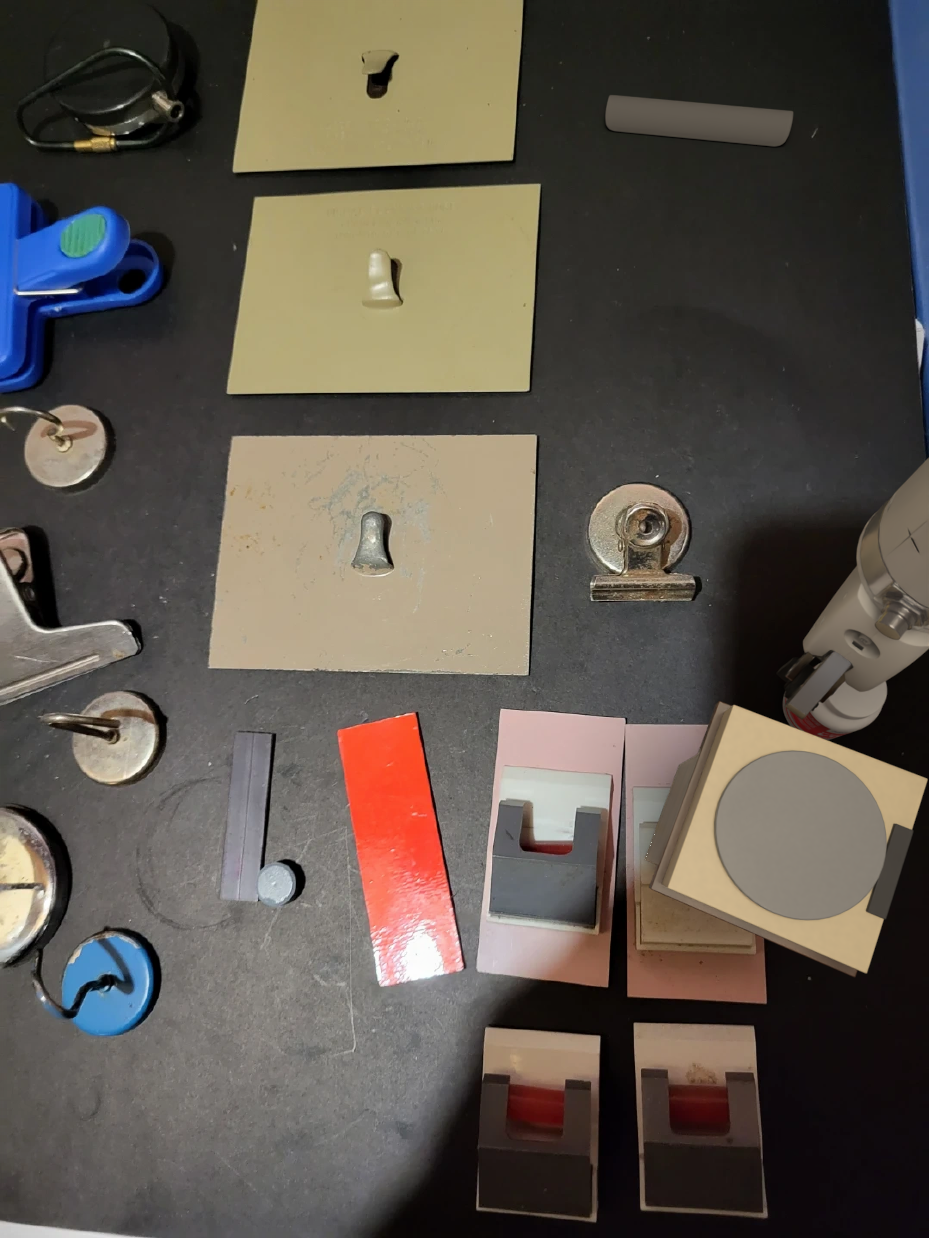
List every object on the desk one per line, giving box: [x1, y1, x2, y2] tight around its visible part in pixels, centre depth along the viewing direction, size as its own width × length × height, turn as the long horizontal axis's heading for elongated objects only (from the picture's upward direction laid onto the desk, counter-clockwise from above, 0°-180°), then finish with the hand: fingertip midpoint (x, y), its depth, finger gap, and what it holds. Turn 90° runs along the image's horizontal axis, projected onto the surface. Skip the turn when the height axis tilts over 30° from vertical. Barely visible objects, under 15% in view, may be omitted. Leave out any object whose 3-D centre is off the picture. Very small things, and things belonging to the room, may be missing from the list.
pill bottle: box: [782, 662, 888, 741], centre depth 73 cm, size 6×6×11 cm
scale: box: [662, 704, 928, 974], centre depth 49 cm, size 11×11×4 cm
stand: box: [644, 700, 858, 978], centre depth 64 cm, size 12×12×27 cm
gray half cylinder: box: [604, 94, 794, 147], centre depth 93 cm, size 4×20×2 cm, turn 77°
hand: (840, 630), depth 59 cm, fingers open, 9 cm apart
